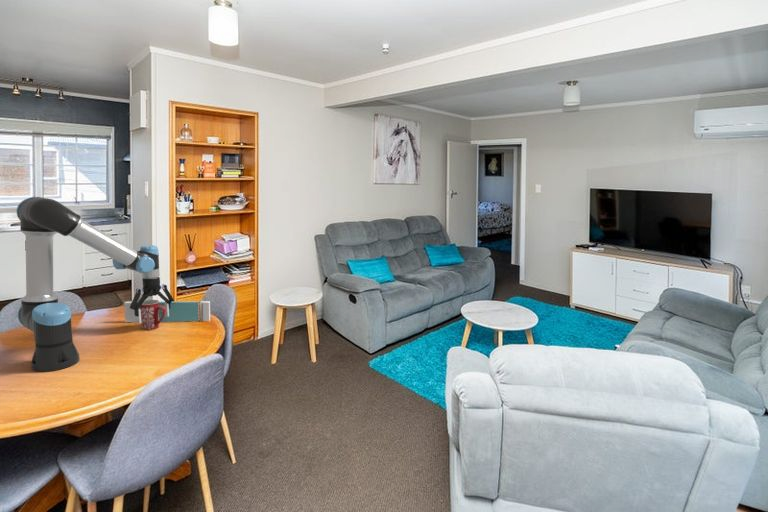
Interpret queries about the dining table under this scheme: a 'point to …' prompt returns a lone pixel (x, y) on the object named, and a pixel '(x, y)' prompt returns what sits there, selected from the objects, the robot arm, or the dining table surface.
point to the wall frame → (203, 312)
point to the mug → (151, 314)
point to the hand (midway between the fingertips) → (153, 319)
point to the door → (180, 311)
